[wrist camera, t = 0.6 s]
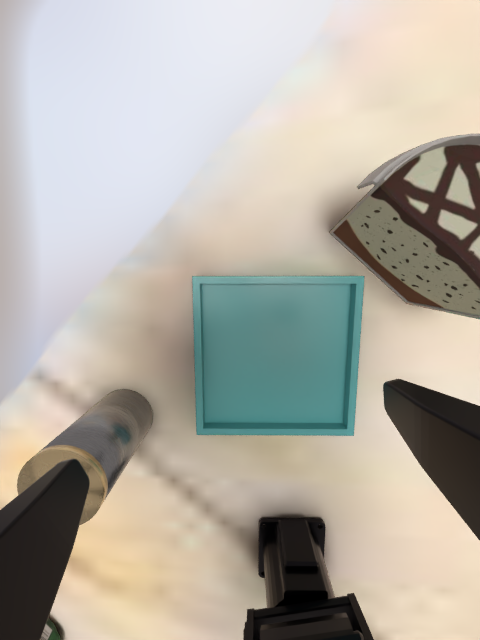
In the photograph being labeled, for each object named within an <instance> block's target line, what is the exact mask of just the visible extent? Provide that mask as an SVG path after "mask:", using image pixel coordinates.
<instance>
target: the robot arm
mask: <svg viewBox="0 0 480 640" xmlns="http://www.w3.org/2000/svg"><path fill="white" fill-rule="evenodd" d="M383 391H384V406H385V410H386V412H387V414H388V416H389V417H390V419H391V420H392V422H393V424H394V425H395V427H396V428H397V430H398V431H399V433H400V434H401V436H402V438H403V439H404V441H405V442H406V444H407V445H408V447H409V448H410V450H411V451H412V453H413V455H414V456H415V458H416V459H417V461H418V462H419V463H420V465H421V466H422V468H423V469H424V470H425V472H426V473H427V474H428V476H429V477H430V478H431V479H432V481H433V482H434V483H435V484H436V486H437V487H438V488H439V490H440V491H441V492H442V493H443V495H444V496H445V497H446V498H447V500H448V501H449V502H450V503H451V505H452V506H453V507H454V509H455V510H456V511H457V512H458V514H459V515H460V516H461V517H462V519H463V520H464V521H465V523H466V524H467V525H468V526H469V528H470V529H471V530H472V531H473V533H474V534H475V535H476V536H477V538H478V539H479V540H480V406H478V405H475V404H472V403H469V402H466V401H463V400H460V399H457V398H454V397H451V396H448V395H445V394H442V393H440V392H437V391H434V390H431V389H428V388H425V387H422V386H419V385H416V384H413V383H410V382H407V381H404V380H401V379H395V380H391V381H387V382H385V383H384V385H383ZM89 486H90V480H89V477H88V475H87V474H86V472H85V470H84V469H83V467H82V465H81V464H80V462H79V461H78V460H77V459H69V460H65V461H61V462H59V463H58V464H56V465H55V466H54V467H53V468H52V469H50V470H49V471H48V472H47V473H45V474H44V475H43V476H42V477H40V478H39V479H38V480H37V481H36V482H34V483H33V484H32V485H31V486H29V487H28V488H27V489H26V490H25V491H23V492H22V493H21V494H20V495H18V496H17V497H16V498H15V499H13V500H12V501H11V502H10V503H9V504H7V505H6V506H5V507H4V508H2V509H1V510H0V640H40V639H41V636H42V634H43V631H44V628H45V625H46V622H47V620H48V617H49V614H50V611H51V608H52V606H53V603H54V600H55V597H56V594H57V592H58V589H59V586H60V583H61V580H62V578H63V575H64V572H65V569H66V566H67V564H68V561H69V558H70V555H71V552H72V549H73V545H74V542H75V539H76V535H77V531H78V527H79V524H80V520H81V516H82V513H83V509H84V505H85V502H86V498H87V494H88V490H89ZM263 524H265V525H263ZM320 524H321V525H320ZM324 544H325V523H324V521H323V520H322V519H308V518H262V519H260V521H259V558H258V572H259V576H260V577H262V578H265V585H266V598H267V608H264V609H258V610H254V609H248V610H247V622H245V629H244V640H374V639H373V637H372V634H371V632H370V630H369V627H368V625H367V623H366V620H365V618H364V616H363V613H362V611H361V609H360V606H359V604H358V601H357V599H356V597H355V594H354V593H351V594H347V596H342V597H335V596H334V593H333V589H332V586H331V582H330V579H329V576H328V572H327V569H326V565H325V562H324Z"/></svg>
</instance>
